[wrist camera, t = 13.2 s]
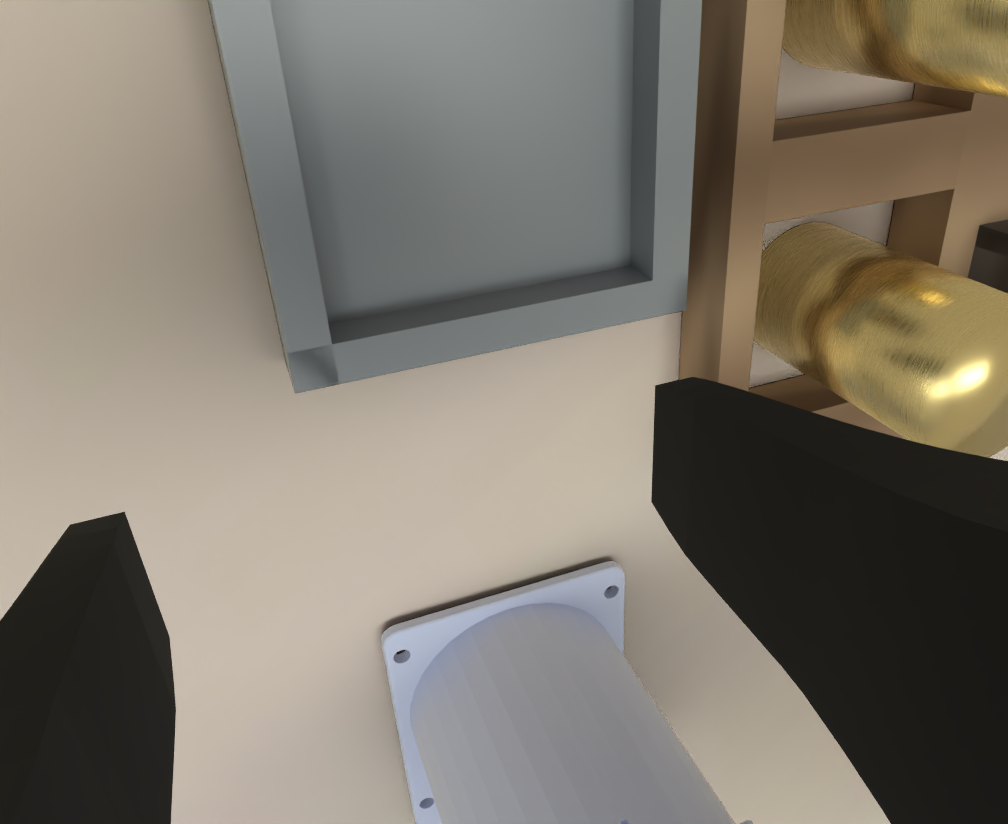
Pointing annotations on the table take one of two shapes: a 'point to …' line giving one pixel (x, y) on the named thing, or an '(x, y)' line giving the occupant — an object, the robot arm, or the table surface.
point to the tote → (461, 170)
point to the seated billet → (889, 335)
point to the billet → (904, 40)
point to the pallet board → (824, 190)
